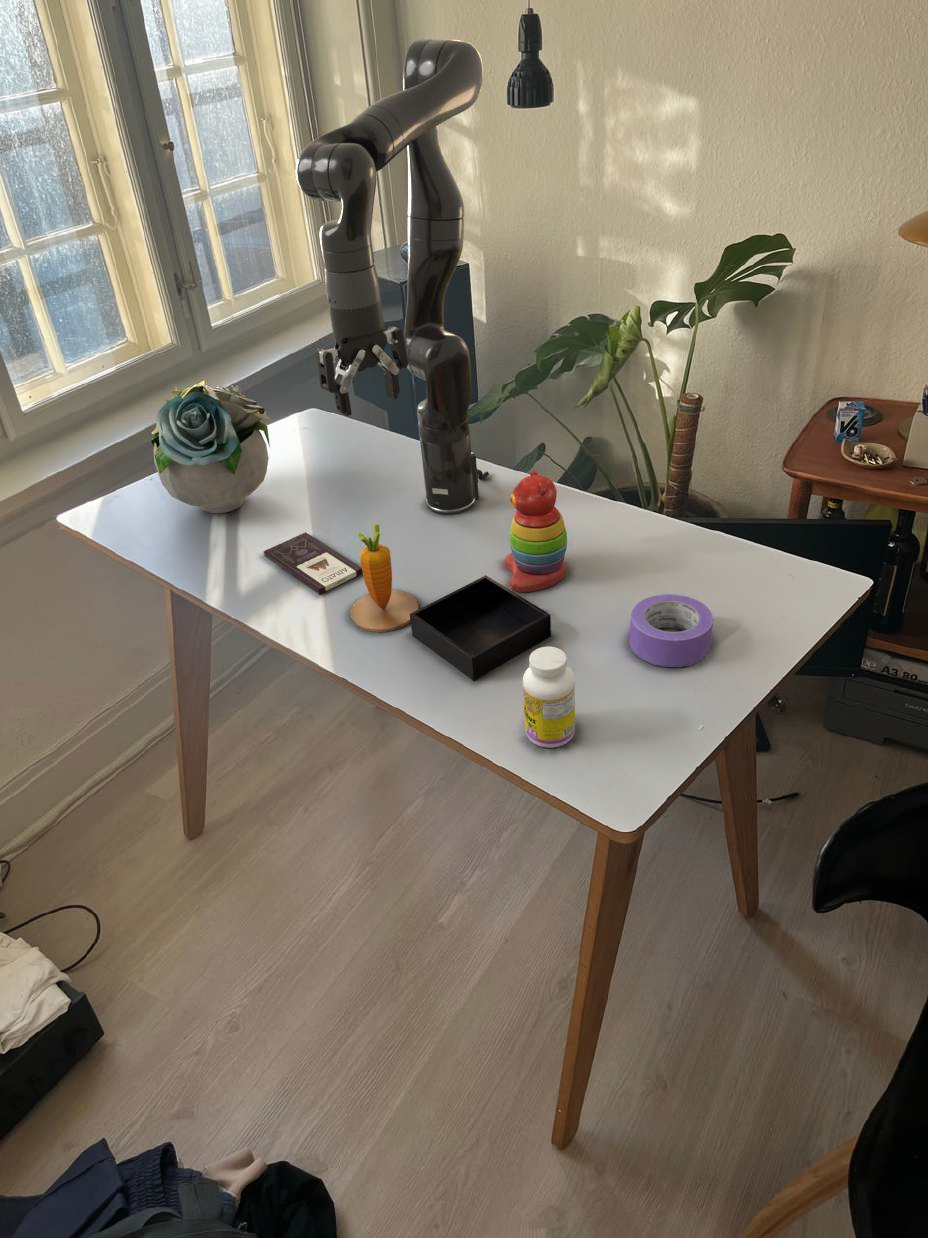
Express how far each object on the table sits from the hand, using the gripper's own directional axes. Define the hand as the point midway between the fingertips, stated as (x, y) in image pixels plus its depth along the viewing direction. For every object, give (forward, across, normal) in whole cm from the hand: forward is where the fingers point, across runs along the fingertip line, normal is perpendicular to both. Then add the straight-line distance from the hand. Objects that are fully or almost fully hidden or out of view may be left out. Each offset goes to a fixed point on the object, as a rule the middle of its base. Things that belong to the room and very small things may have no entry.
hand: (369, 405), depth 140 cm
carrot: (+30, -8, -9) cm, 32 cm away
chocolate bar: (+30, -9, +12) cm, 34 cm away
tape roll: (+30, +18, -46) cm, 58 cm away
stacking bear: (+30, +17, -18) cm, 39 cm away
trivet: (+30, -8, -9) cm, 32 cm away
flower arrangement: (+30, -10, +45) cm, 55 cm away
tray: (+30, -1, -25) cm, 39 cm away
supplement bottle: (+30, -8, -48) cm, 57 cm away
